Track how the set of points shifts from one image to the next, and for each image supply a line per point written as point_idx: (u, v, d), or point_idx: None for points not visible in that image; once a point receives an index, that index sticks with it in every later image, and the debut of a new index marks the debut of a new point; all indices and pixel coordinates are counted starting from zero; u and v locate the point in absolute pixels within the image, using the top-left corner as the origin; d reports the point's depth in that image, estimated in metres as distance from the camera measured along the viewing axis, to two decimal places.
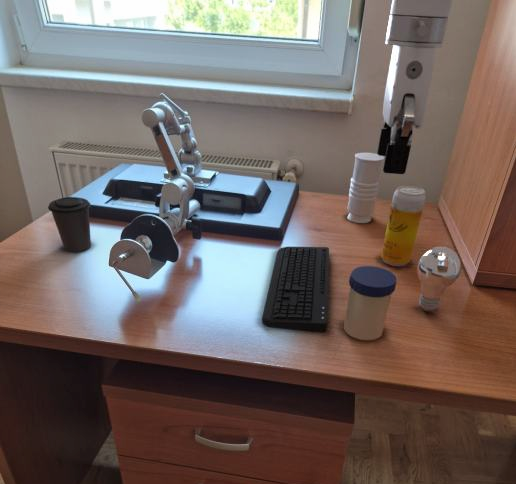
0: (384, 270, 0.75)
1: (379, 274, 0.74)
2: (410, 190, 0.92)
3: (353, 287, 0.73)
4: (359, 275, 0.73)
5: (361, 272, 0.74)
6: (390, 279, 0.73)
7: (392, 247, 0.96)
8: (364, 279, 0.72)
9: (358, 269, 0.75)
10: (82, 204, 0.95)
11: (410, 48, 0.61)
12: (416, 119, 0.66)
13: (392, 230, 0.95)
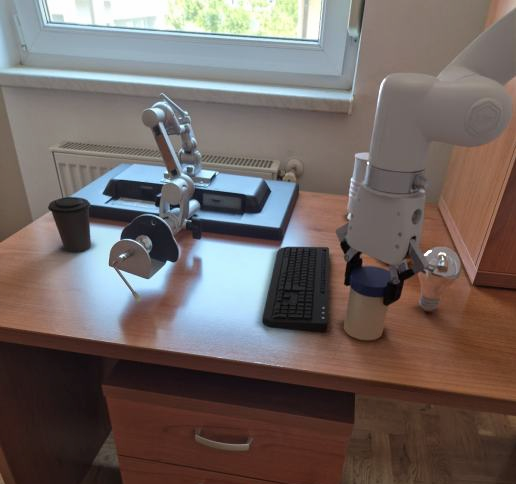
0: (384, 270, 0.75)
1: (379, 274, 0.74)
2: None
3: (353, 287, 0.73)
4: (359, 275, 0.73)
5: (361, 272, 0.74)
6: (390, 279, 0.73)
7: None
8: (364, 279, 0.72)
9: (358, 269, 0.75)
10: (82, 204, 0.95)
11: (413, 199, 0.62)
12: None
13: None
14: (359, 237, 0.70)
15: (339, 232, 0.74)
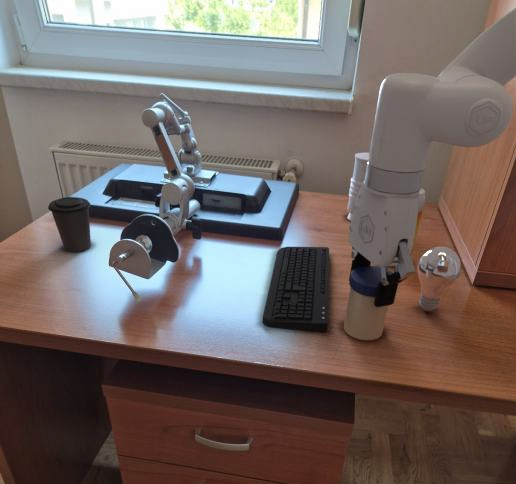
0: (357, 279, 0.72)
1: (366, 276, 0.73)
2: None
3: None
4: None
5: None
6: (359, 270, 0.75)
7: None
8: None
9: None
10: (82, 204, 0.95)
11: None
12: None
13: None
14: None
15: None
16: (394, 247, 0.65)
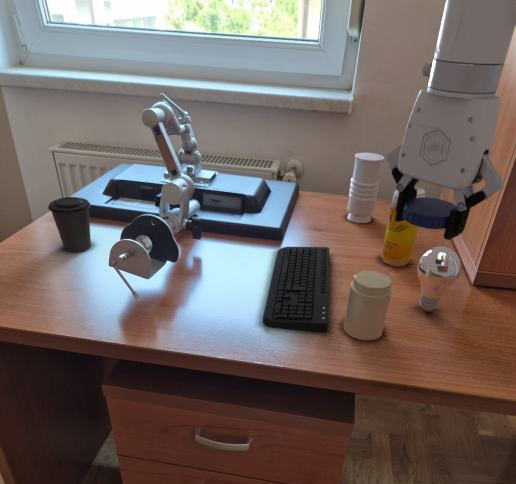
0: (419, 212, 0.61)
1: (425, 208, 0.63)
2: None
3: None
4: (448, 207, 0.63)
5: (447, 210, 0.62)
6: (411, 203, 0.64)
7: (392, 247, 0.96)
8: (441, 203, 0.64)
9: None
10: (82, 204, 0.95)
11: None
12: None
13: (392, 230, 0.95)
14: None
15: None
16: (479, 161, 0.55)
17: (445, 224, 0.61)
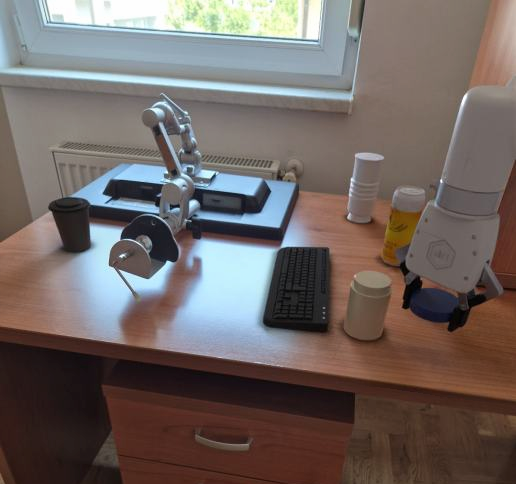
0: (425, 306, 0.67)
1: (430, 301, 0.68)
2: (410, 190, 0.92)
3: None
4: (451, 300, 0.69)
5: (450, 304, 0.68)
6: (418, 296, 0.69)
7: (392, 247, 0.96)
8: (445, 295, 0.70)
9: None
10: (82, 204, 0.95)
11: None
12: None
13: (392, 230, 0.95)
14: None
15: None
16: (480, 270, 0.61)
17: (449, 319, 0.67)
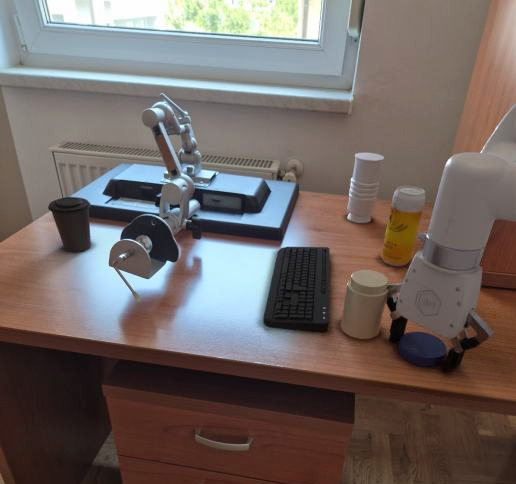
0: (412, 351, 0.72)
1: (417, 346, 0.73)
2: (410, 190, 0.92)
3: None
4: (437, 345, 0.73)
5: (436, 348, 0.72)
6: (406, 340, 0.74)
7: (392, 247, 0.96)
8: (431, 340, 0.74)
9: (440, 352, 0.72)
10: (82, 204, 0.95)
11: None
12: None
13: (392, 230, 0.95)
14: None
15: None
16: (465, 318, 0.65)
17: (434, 363, 0.71)
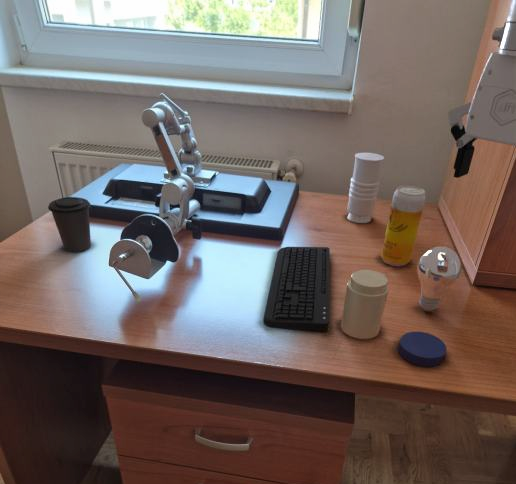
0: (412, 351, 0.72)
1: (417, 346, 0.73)
2: (410, 190, 0.92)
3: None
4: (437, 345, 0.73)
5: (436, 348, 0.72)
6: (406, 340, 0.74)
7: (392, 247, 0.96)
8: (431, 340, 0.74)
9: (440, 352, 0.72)
10: (82, 204, 0.95)
11: None
12: None
13: (392, 230, 0.95)
14: None
15: None
16: None
17: (434, 363, 0.71)
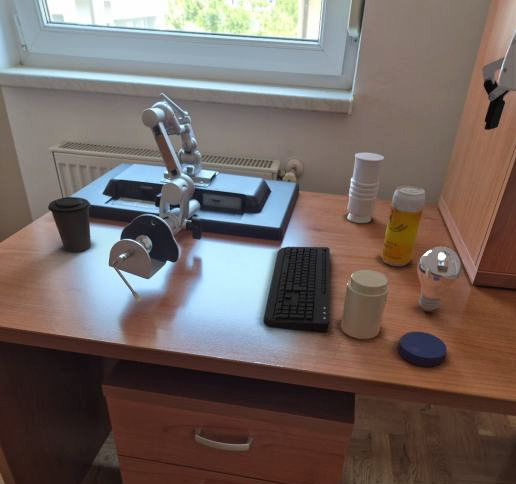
0: (412, 351, 0.72)
1: (417, 346, 0.73)
2: (410, 190, 0.92)
3: None
4: (437, 345, 0.73)
5: (436, 348, 0.72)
6: (406, 340, 0.74)
7: (392, 247, 0.96)
8: (431, 340, 0.74)
9: (440, 352, 0.72)
10: (82, 204, 0.95)
11: None
12: None
13: (392, 230, 0.95)
14: None
15: None
16: None
17: (434, 363, 0.71)
